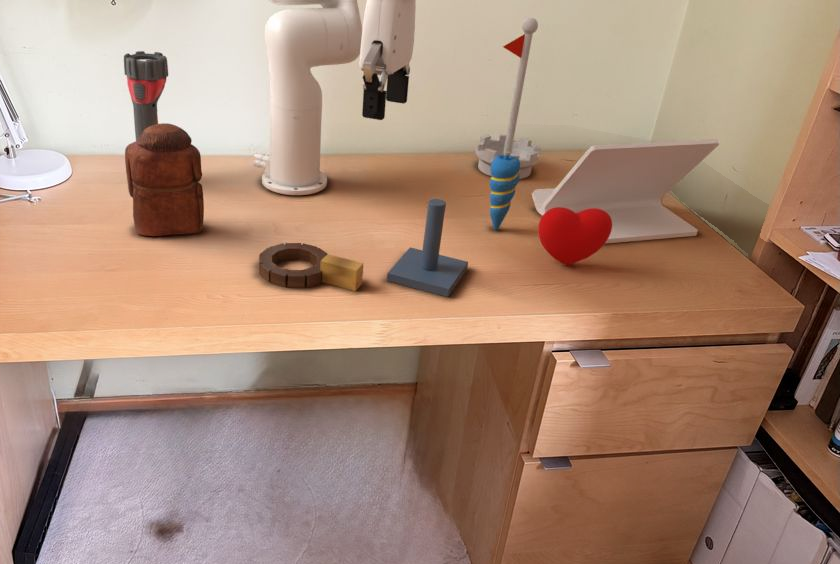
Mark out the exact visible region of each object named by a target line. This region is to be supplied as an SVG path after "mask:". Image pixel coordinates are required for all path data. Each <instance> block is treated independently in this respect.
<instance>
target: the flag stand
mask: <svg viewBox="0 0 840 564" xmlns="http://www.w3.org/2000/svg"><path fill="white" fill-rule="evenodd" d="M521 29H522V31H523V32H524V33H523V34H522V35H521V36H519V37H517V38H515V39H513V40H512V41H510V42H508V43H507V44H505V45H503V46H502V48H504V49H505V50H507V51H509V52H510V53H512V54H513V55H515V56H516V57H518V58H519V61H518V62H519V63H518V69H517V74H516V80H515V86H514V90H513V97H512V103H511V107H510V113H509V119H508V125H507V131H506V133H498V134H497V138H492V136H491V135H490V134H485V135H482V136H480V137H479V140H476V144H475V152H474V153H475V155H476V157H477V158H478V165H477V168H478V170H479V171H480V172H481V173H483V174H485V175H487V176H489V177H492V176H491V171H490V167H491V163H492V161H493V159H494V158H495V157H496V156H498V155H503V154H504V153H505V151H509V152H510V155H511V156H514V157H516V158H518V159H519V161H520V169H519V171H518V172H519V175H520V178H519V180H521V179H525V178H528V177H529V176H530V175H531V174H532V169H533V166H534V165H536V164H537V163H538V162H539V160H540V155H541V149H542V148H541V145H540V144H536V143H535V144H533V145H532V142H533V139H530V138H528V137H524V136H521V137H519V139H518V140H519V141H518V140H514V139H515V133H516V129H517V124H518V123H517V122H518V118H519V113H520V112H519V111H520V106H521V100H522V94H523V89H524V85H525V84H524V83H525V79H526V73H527V69H528V68H527V67H528V62H529V55H530V51H531V45H532V41H533V40H532V39H533V34H534V33H536V32H537V30H538V29H539V23H538V21H537V19H536V18H534V17H527V18H526V19H524V20H523V22H522V25H521ZM506 148H507V149H506Z"/></svg>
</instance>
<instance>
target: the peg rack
mask: <svg viewBox="0 0 840 564" xmlns="http://www.w3.org/2000/svg"><path fill="white" fill-rule="evenodd" d="M446 206H447V203H446V201H445V200H444V199H441V198H431V199H429V200H428V203H427V210H426V219H425V227H424V235H423V244H422V249H418V248H414V247H410V246H409V248H408V249H407V250H406V251H405V252H404V253H403V254H402V256H401V257H400V258H399V259H398V260H397V261H396V263H394V265H393V266H392V267H391V268H390V270H389V271H388V272H387V275H386V276H387V277H386V281H387V282H388V283H393V284H395V285H400V286H404V287H408V288H411V289H415V290H419V291H422V292H427V293H430V294H435V295H437V296H441V297H445V298H449V296H450V295H451V293H452V292H453V291H454V289H455V288H456V286H457V285H458V283H459V282H460V281H461V280H462V278H463V276H464V275H465V273H466V272H467V270H468V268H469V261H468V260H467V261H466V260H463V259H460V258H459V259H458V258H455V257H451V256H447V255H442V254H440V250H441V249H440V248H441V241H442V236H443V228H444V220H445V212H446Z"/></svg>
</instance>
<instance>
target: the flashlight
mask: <svg viewBox="0 0 840 564" xmlns="http://www.w3.org/2000/svg"><path fill="white" fill-rule="evenodd" d="M123 70H124V75H125V76H126V83H127V88H128V92H129V95H130V99H131V102H132V107H133V121H134V123H133V125H134V134H135V141H136V140H137V138H138V136H139V135H140V134H141V133H142V132H143V131H144V130H145V129H146V128H148V127H150V126H152V125H155V124H159V117H158V115H159V114H158V101H159V100H160V98H161V96H162V93H163V91H164V90H165V86H166V82H167V77H169V64H168V58H167V56H166V55H164V54H163V53H162V52H159V51H155V52H154V53H146V52H145V51H143V50H138V51H135V53H132V54H130V52H129V53H125V54H124V55H123Z"/></svg>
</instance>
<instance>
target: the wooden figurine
mask: <svg viewBox="0 0 840 564" xmlns="http://www.w3.org/2000/svg"><path fill="white" fill-rule="evenodd" d="M192 141H193V140H192V137H191V136H190V135H189V133H188V132H187V131H186V130H184V129H183V128H182V127H180V126H178V125H175V124H172V123H168V122H167V123H158V124H155V125H152V126H150V127H148V128H146V129H145V130H144V131H143V132H142V133H141V134H140V135H139V136H138V138H137V140H136V139H135V141H133V142H131V143H129V144H128V145H126V147H125V150H124V162H125V172H126V181H127V189H128V193H129V196H130V197H131V198H132V218H133V223H134V229H135V232H136V234H138V235H141V236H149V237H164V236H173V235H187V234H189V235H191V234H199V233H201V232H202V231H203V227H204V218H205V216H204V215H205V201H204V189H203V184H201V183H200V181H201V180H202V177H203V171H202V157H201V152H200V150H199V149H198V147H196V146H195V145H194V144H192Z"/></svg>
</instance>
